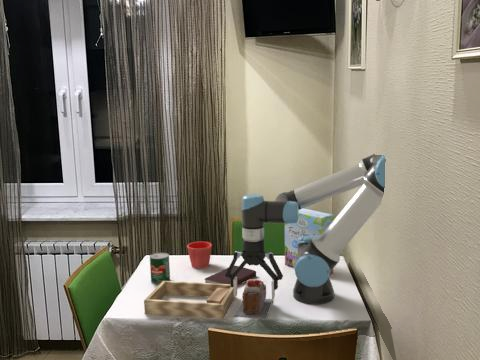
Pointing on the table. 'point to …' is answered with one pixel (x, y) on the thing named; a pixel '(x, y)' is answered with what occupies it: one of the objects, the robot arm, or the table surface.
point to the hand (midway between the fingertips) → (254, 296)
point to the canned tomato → (159, 267)
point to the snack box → (304, 231)
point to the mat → (262, 315)
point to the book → (222, 279)
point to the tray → (187, 309)
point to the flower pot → (199, 254)
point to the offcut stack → (217, 295)
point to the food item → (253, 296)
